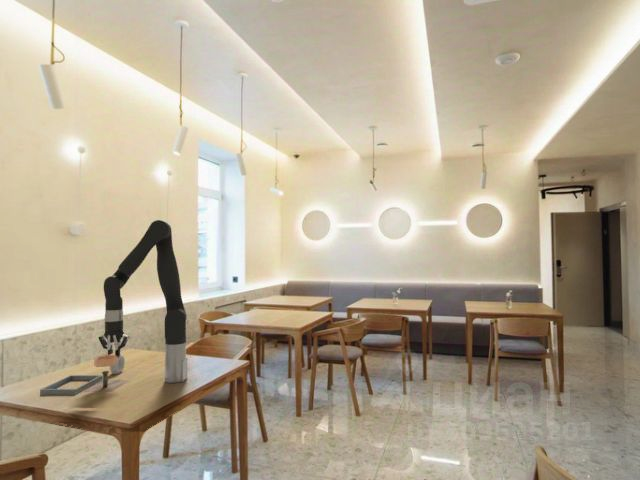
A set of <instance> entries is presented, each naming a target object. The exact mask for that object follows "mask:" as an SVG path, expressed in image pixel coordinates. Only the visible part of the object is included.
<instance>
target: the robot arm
mask: <svg viewBox="0 0 640 480" xmlns="http://www.w3.org/2000/svg"><path fill="white" fill-rule="evenodd" d="M172 232H173V231H172V227H171V225H170V224H169V223H168V222H167V221H166V220H162V219H156V220H154V221H152V222H151V223H150V225H149V226H148V228H147V230H146V231H145V233H144V235H143V236H142V238H141V239H140V241H139V242H138V243H137V244H136V245H135V247H134V248H133V249H132V250H131V251H130V252H129V253H128V254H127V255H126V257H125V258H124V259H123V261H121V263H120V264H119V265H118V268H117V270H116V271H115V272H114V273H113V274H112V275H110V276H108V277H106V278H105V280H104V282H103V293H104V297H105V305H104V306H105V308H104V309H105V311H104V312H105V313H104V333H103V335H100V336H99V337H98V341H99V342H100V345H101V347H102V348H103V349H104V350H107V355H109V354H112V353H115V355H116V356H118V358H119V356H120V354H121V349H123V348H125V347H126V345H127V342H128V341H129V339H130V335H128V334H127V335H126V334H125V333H124V309H123V307H124V305H123V304H124V303H123V297H122V296H121V289H122V288H123V287H124V286H125V285H127V284H126V283H128V281H129V279H130V278H131V276H132V275H133V274H135V272H136V271H137V270H138V269H139V267H140V266H141V265H142V263H144V261H145V260H146V258H147V256H148V255H149V253H150V252H151V250H152V249H153V248H156V272H157V277H158V283H159V285H160V289H161V292H162V294H163V296H164V299H165V305H166V306H165V308H166V314H165V316H164V341H165V342H164V345H165V346H164V347H165V349H164V351H165V353H164V382H165V383H169V384H171V383H173V384H174V383H181V382H184V381H186V380H187V379H188V357H187V333H186V332H187V331H186V330H187V329H186V328H187V324H186V322H187V318H188V317H187V316H188V315H187V312H186V309H185V306H184V303H183V300H182V291H181V290H182V289H181V287H182V286H181V280H180V273H179V268H178V263H177V259H176V255H175V253H174V248H173V246H174V245H173V236H172V235H173V234H172ZM113 346H115V350H114V349H113Z"/></svg>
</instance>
